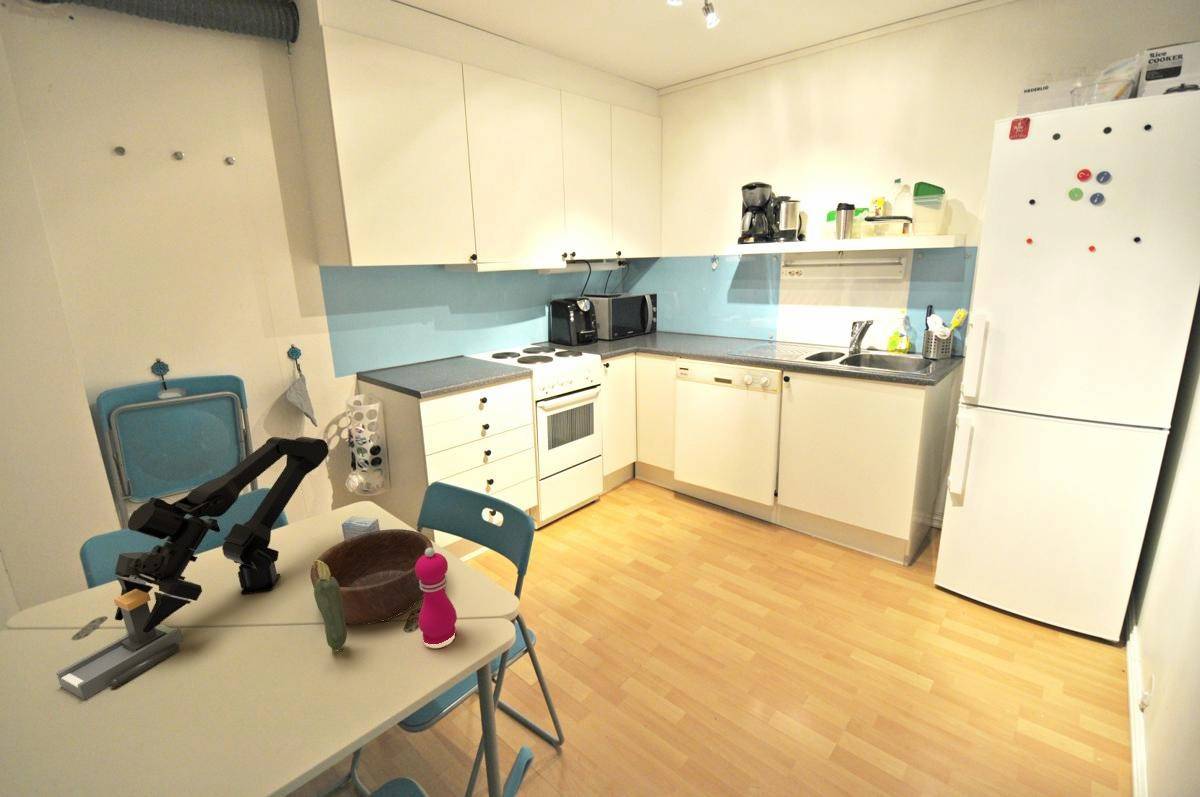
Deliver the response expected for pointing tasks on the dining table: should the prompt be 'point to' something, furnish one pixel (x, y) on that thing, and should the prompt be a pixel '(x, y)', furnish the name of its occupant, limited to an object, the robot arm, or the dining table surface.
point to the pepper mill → (435, 598)
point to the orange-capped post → (136, 619)
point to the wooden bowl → (376, 573)
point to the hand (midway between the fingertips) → (130, 626)
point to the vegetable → (330, 606)
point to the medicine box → (359, 526)
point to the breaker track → (116, 664)
